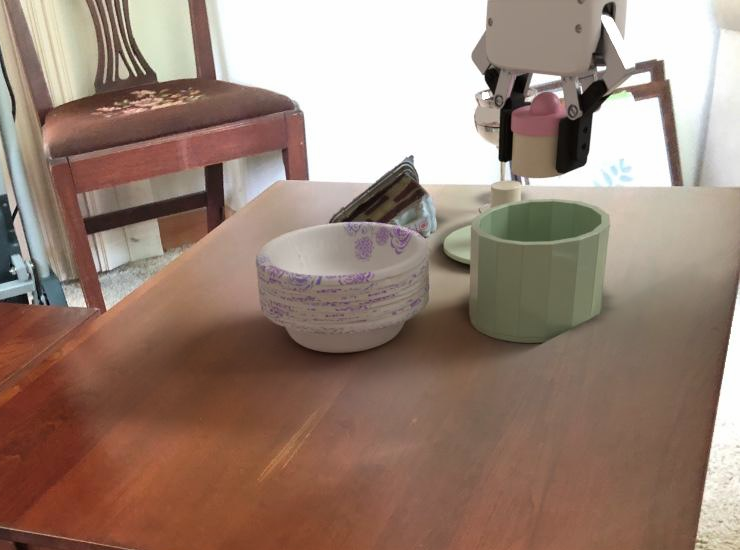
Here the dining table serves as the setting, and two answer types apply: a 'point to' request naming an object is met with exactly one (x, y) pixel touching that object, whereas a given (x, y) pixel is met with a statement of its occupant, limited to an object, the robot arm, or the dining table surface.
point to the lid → (460, 239)
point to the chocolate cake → (393, 202)
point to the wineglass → (492, 123)
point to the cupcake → (537, 136)
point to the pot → (536, 268)
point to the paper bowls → (344, 283)
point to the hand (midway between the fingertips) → (541, 161)
